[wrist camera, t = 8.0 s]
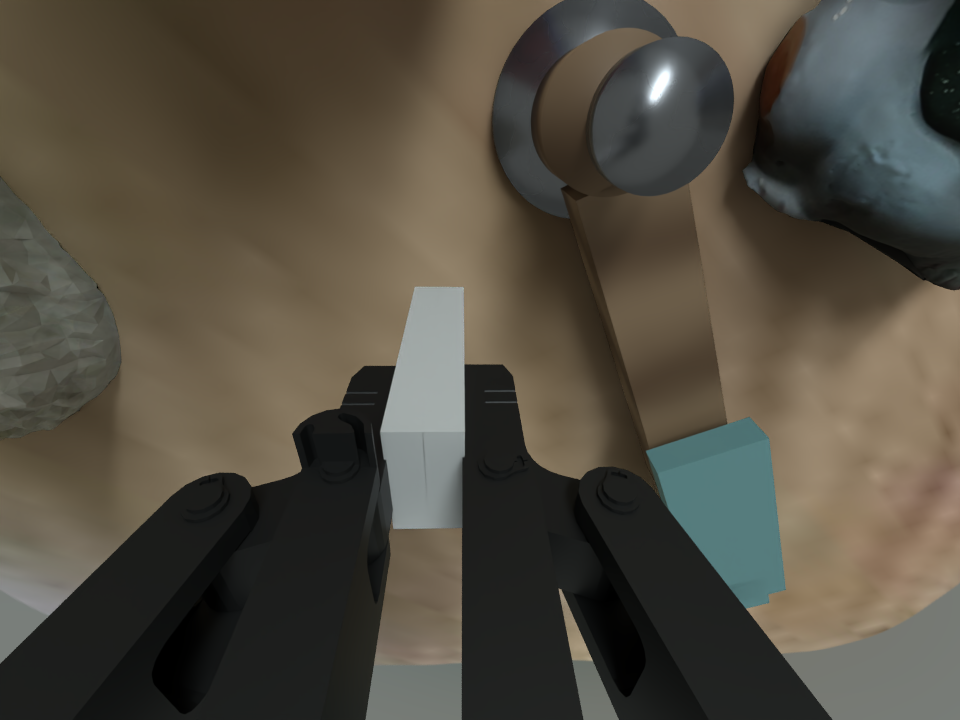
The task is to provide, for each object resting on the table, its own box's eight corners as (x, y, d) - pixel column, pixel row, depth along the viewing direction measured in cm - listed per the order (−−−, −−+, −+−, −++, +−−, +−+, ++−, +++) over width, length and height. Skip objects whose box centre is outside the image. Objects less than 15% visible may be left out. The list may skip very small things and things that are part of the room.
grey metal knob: (582, -64, 15) (682, -212, 8) (722, 93, 18) (887, 83, 11) (454, 141, 18) (448, 160, 11) (589, 249, 21) (651, 318, 14)
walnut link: (512, 79, 16) (521, 73, 14) (640, 14, 15) (675, -6, 13) (644, 486, 28) (663, 524, 25) (721, 462, 27) (748, 499, 24)
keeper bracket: (614, 392, 25) (657, 473, 20) (699, 362, 24) (769, 438, 19) (661, 529, 32) (702, 619, 26) (728, 510, 31) (786, 598, 25)
